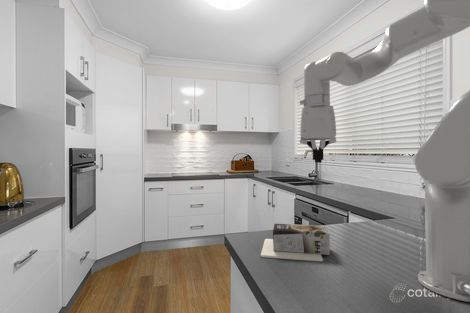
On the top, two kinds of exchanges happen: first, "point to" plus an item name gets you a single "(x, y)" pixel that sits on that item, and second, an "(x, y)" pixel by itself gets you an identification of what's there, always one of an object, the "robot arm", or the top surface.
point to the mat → (287, 253)
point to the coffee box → (301, 239)
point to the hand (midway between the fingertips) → (318, 162)
